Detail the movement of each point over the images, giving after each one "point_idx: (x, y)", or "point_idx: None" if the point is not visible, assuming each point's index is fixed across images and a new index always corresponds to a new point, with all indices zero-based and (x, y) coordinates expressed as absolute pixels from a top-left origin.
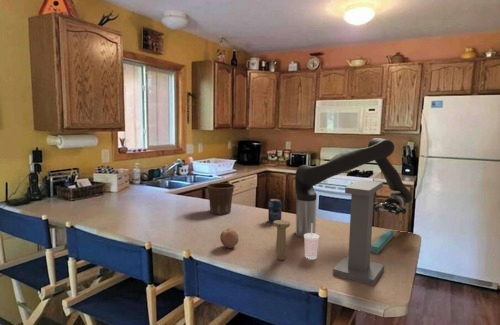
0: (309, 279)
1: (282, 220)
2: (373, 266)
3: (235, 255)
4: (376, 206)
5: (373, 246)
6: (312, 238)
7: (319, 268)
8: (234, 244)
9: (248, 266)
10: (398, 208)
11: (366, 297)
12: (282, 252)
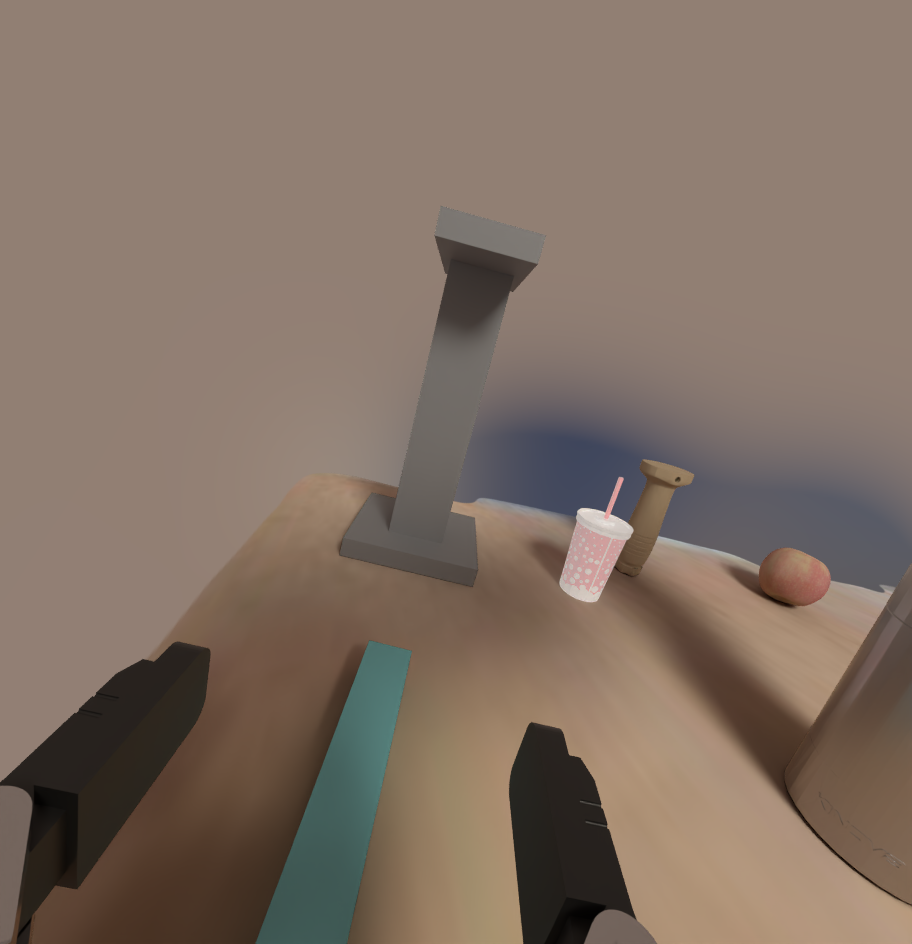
0: (503, 517)
1: (681, 473)
2: (377, 530)
3: (709, 570)
4: (571, 766)
5: (395, 647)
6: (585, 508)
7: (514, 547)
8: (760, 580)
9: None
10: (47, 784)
11: (379, 485)
12: None
